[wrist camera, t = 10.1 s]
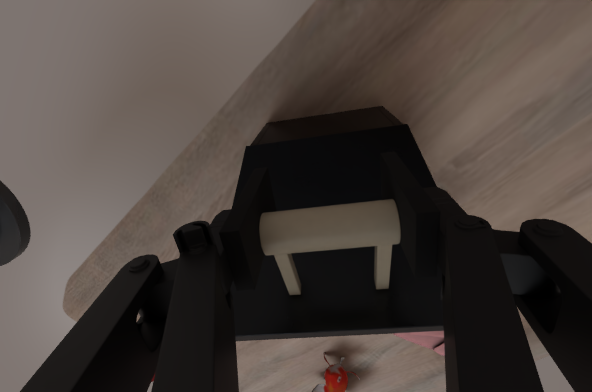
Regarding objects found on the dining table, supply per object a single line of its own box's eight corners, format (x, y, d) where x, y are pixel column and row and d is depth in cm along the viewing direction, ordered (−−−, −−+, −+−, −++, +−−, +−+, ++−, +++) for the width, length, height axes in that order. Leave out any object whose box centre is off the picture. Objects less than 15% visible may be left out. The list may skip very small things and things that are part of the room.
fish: (382, 367, 54) (367, 431, 49) (368, 380, 66) (355, 432, 61) (327, 341, 57) (306, 398, 52) (323, 358, 70) (306, 405, 64)
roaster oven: (386, 221, 46) (406, 271, 36) (288, 231, 48) (279, 281, 38) (382, 105, 39) (405, 125, 28) (266, 122, 41) (247, 147, 30)
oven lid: (496, 328, 15) (558, 244, 10) (206, 343, 17) (139, 278, 12) (406, 130, 28) (414, 50, 23) (248, 152, 30) (223, 83, 25)
